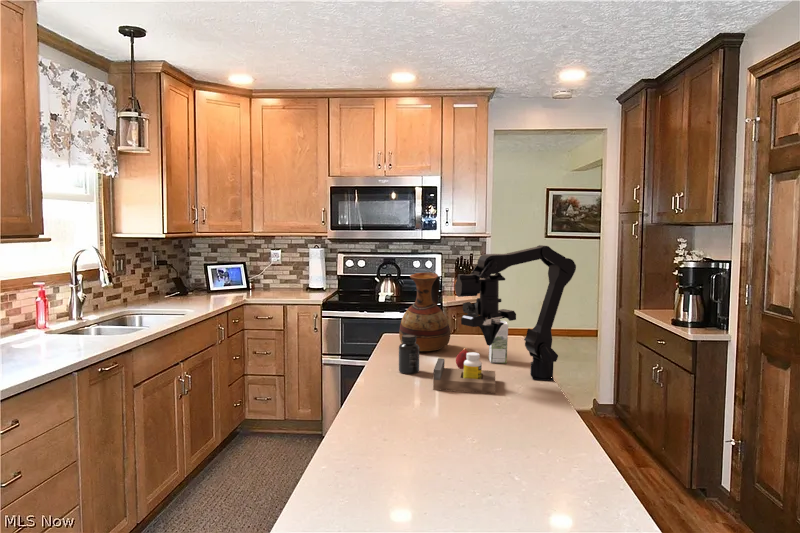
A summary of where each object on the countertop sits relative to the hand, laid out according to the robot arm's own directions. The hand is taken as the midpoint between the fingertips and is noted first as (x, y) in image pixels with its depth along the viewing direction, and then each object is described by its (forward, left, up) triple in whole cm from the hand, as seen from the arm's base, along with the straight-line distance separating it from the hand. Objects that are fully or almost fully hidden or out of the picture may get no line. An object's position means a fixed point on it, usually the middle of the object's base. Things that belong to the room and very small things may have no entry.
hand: (489, 345), depth 173 cm
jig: (+7, +5, -12) cm, 14 cm away
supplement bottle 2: (+5, +5, -12) cm, 14 cm away
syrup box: (-3, -26, -12) cm, 28 cm away
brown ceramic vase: (+25, -40, -12) cm, 48 cm away
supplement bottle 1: (+26, -6, -12) cm, 29 cm away
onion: (+8, -10, -12) cm, 17 cm away
